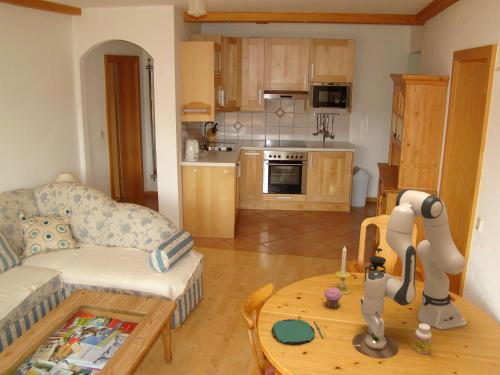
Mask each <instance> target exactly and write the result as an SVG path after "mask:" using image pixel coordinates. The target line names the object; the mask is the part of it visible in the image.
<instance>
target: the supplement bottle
mask: <svg viewBox="0 0 500 375" xmlns="http://www.w3.org/2000/svg"><path fill="white" fill-rule="evenodd" d="M414 334H415V335H414V342H413V350H414V351H415V352H416V353H418V354H420V355H427V356H429V355H430V353H431V344H432V337H433V335H432V332H431V326H429V325H427V324H424V323H419V324H418V328H417V329H416V330H415V333H414Z"/></svg>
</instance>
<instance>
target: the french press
mask: <svg viewBox="0 0 500 375" xmlns="http://www.w3.org/2000/svg"><path fill="white" fill-rule="evenodd" d="M374 251H377V256H376V255H375V256H374V255H372V256H370V257H369V261H370V264H369V265H368V266H365V269H364V271H365V272H364V282H365V281H366V277H367V271H368V273H369V272H371V271H381V272H383V273H386V266H384V265H385V264H386V262H387V259H386V258H385V257H383V256H379V255H380V254H379V253H380V252H382V251H383V249H382V248H380V247H376V248H374ZM378 267H379V268H382V270H378Z"/></svg>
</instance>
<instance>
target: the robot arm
mask: <svg viewBox="0 0 500 375" xmlns="http://www.w3.org/2000/svg"><path fill="white" fill-rule="evenodd" d="M417 217H419V218H421V219H422V226H423V232H424V233H423V234H424V237H425V239H423V240H422V241H420V242H419V243H418V245H417V247H416V248H415V247H414V244H413V232H414V227H415V220H416V218H417ZM449 222H450V221H449V217H448V212H447V208H446V205H445V202H444V201H443V200H442V199H441V198H440V197H438V196H436V195H434V194H430V193H427V192H424V191H420V190H415V189H410V188H406V189H405V188H404V189H402V190H400V191H399V193H398V194H397V196H396V198H395V207H393V209H392V211H391V214H390V216H389V218H388V222H387V226H386V231H385V242H386V244H387V246H388V247H389V248H390V250H392V251H393V252H395V254H396V255H397V256H398V257H399V259H400V260H401V263H402V266H401V267H402V271H401V279H400V278H398V277H396V276H393V275H392V274H389V273H387V272H385V273H384V272H381V271H370V272H369V271H368V273H367V274H366V281H364V288H363V289H364V291H363V292H364V297H360V299H359V301H360V314H361V316H362V317H363V319H364V322H366V324H367V332H368V333H369V334H371V333H374V335H375V336H376V337H382V336H383V335H385V323H384V322H385V321H384V319H383V318H382V316H381V315H382V314H384V308H385V297H386V298H388V299H390V300H392V301H394V302H395V303H397V304H398V305H400V306H404V307H405V306H408V305H411V304H413V302H414V300H415V298H416V295H417V293H416V267H417V256H418V258H419V260H420V262H421V266H422V269H423V273H424V285H423V290H422V294H421V305H420V308H419V311H418V313H417V316H416V317H417V319H418V320H419V322H421V324H427V325H429V326H430V327H433V328H436V329H438V330H442V331H443V330H449V329H453V328H454V329H456V328H461V327H466V326H467V321H466V319H465V318H464V317H463V315H462V311H461V309H460V308H459V307H458V306H457V305H456V304H455V303H454V302H455V301H456V298H455V297H454V296H451V294H450V293H449V290H450V278H449V277H448V275H447V274H450V275H459V274H460V273H462V271H464V270H465V267H466V258H465V257H464V256H463V254H461V252H460V251H459V250H458V248H457V246H456V244H455V243H454V240H453V238H452V234H451V230H450V223H449ZM446 273H447V274H446Z"/></svg>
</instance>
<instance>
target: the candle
mask: <svg viewBox="0 0 500 375" xmlns="http://www.w3.org/2000/svg"><path fill="white" fill-rule="evenodd" d="M341 253H342V254H341V256H342V257H341V268H340V269H341V270H338V271H335V273H334V275H335V276H336V277H338V278H340V280H339V285H335V286H334V287H335V288H337V289H338V290H340V291H341V293H342V295H349V294H350V293H351V292H352V290H351V288H350V287H348V286H346V282H345V281H346V279H348V278H350V277H351V275H352V274H351V273H350V272H349V271H346V263H347V262H346V261H347V248H346V245H344V246H343V248H342V252H341Z"/></svg>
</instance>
